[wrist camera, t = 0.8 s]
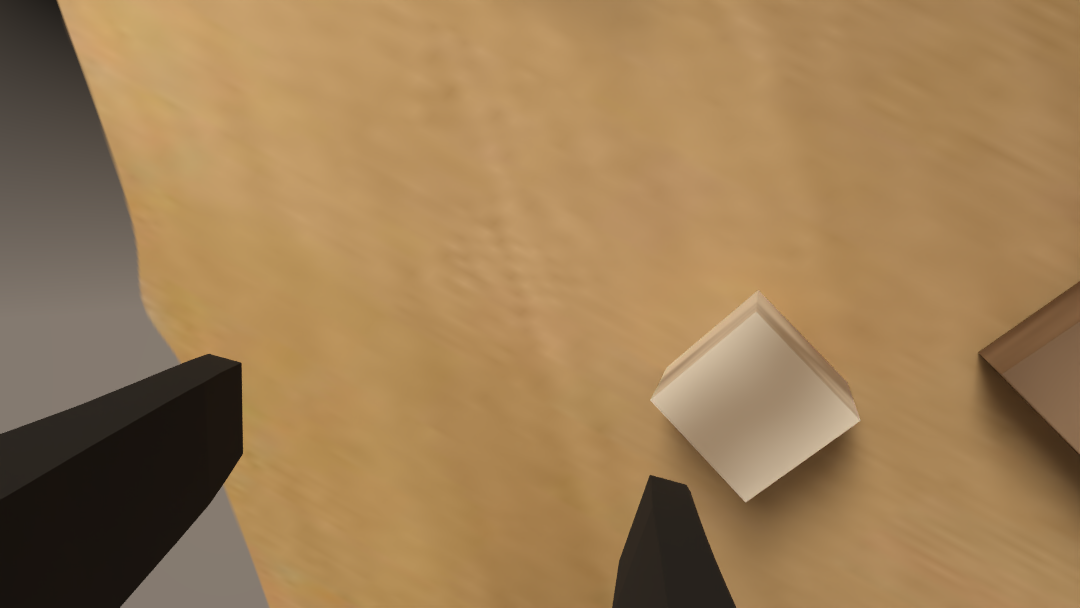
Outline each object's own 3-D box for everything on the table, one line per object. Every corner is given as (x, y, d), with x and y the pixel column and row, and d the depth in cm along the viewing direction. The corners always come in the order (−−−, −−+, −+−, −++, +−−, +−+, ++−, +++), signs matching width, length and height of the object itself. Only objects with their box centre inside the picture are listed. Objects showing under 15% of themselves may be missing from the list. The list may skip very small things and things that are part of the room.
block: (846, 381, 24) (860, 420, 21) (749, 453, 26) (745, 502, 22) (758, 289, 25) (755, 311, 21) (667, 366, 26) (650, 400, 23)
